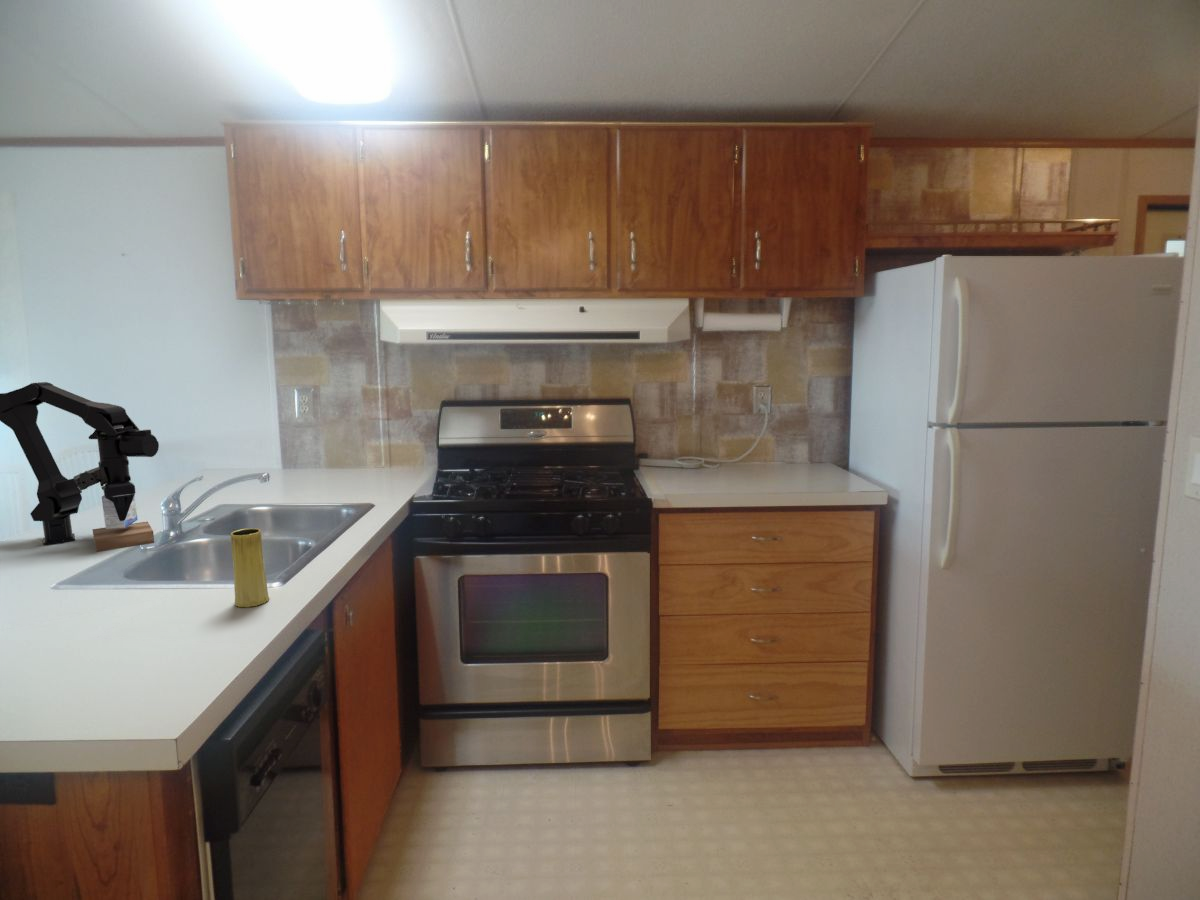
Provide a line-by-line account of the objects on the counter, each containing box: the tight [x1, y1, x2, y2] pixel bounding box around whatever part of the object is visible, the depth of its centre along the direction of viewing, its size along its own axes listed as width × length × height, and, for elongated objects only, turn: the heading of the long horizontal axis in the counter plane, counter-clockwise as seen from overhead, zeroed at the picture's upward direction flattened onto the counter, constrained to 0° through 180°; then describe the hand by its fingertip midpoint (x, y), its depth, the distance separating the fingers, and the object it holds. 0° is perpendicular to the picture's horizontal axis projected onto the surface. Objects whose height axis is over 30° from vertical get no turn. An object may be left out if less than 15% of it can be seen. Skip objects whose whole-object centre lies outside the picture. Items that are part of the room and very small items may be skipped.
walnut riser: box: [92, 521, 155, 553], centre depth 179 cm, size 12×12×3 cm
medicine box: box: [101, 494, 138, 529], centre depth 178 cm, size 8×4×9 cm, turn 13°
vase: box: [230, 527, 270, 608], centre depth 137 cm, size 6×6×14 cm
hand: (120, 517), depth 178 cm, fingers closed on medicine box, 9 cm apart
